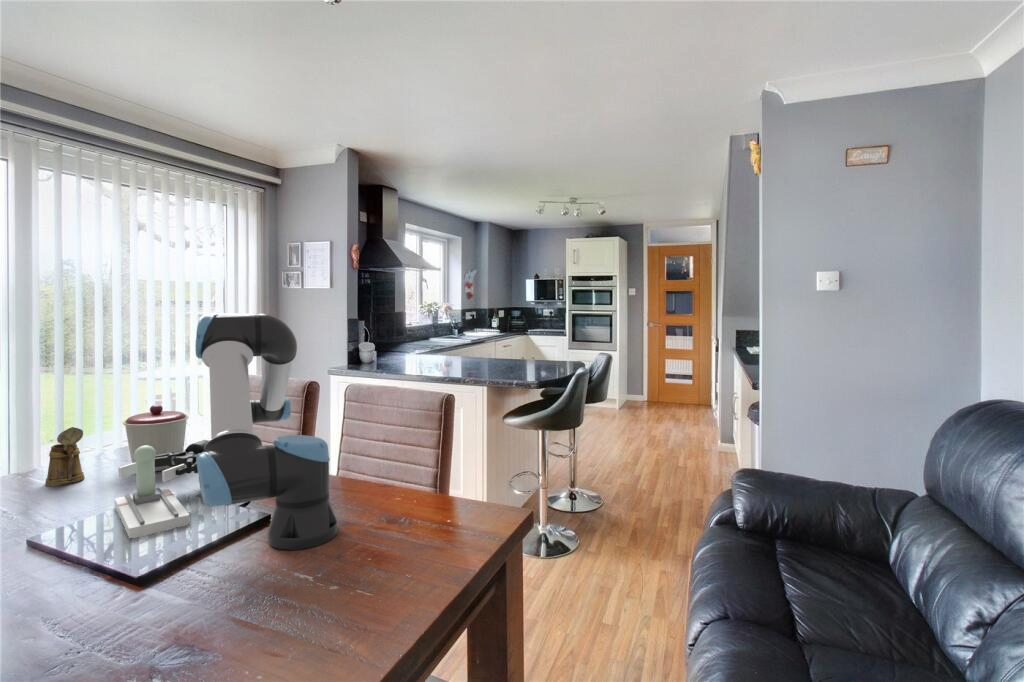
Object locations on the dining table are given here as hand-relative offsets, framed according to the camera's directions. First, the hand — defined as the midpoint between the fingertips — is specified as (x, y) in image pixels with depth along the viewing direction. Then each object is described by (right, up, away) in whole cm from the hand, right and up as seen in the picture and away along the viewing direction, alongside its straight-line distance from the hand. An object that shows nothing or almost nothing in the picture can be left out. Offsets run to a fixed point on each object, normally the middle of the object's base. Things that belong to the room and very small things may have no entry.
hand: (141, 474), depth 135 cm
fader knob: (0, -7, +1) cm, 7 cm away
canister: (-21, -8, +38) cm, 44 cm away
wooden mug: (-38, -8, +22) cm, 45 cm away
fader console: (+4, -10, -3) cm, 11 cm away
